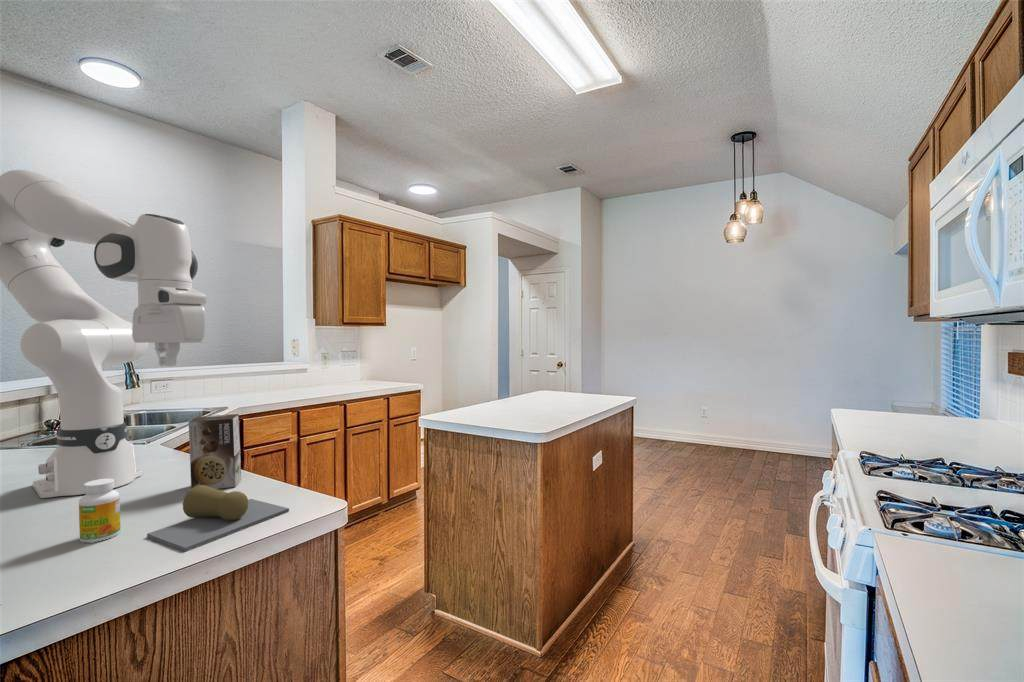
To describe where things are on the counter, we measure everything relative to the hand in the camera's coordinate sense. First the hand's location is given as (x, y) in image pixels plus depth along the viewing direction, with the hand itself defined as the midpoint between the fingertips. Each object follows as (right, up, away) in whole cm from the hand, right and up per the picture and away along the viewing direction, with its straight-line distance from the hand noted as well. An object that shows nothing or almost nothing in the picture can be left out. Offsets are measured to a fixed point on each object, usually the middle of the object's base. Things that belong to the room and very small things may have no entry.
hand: (167, 365), depth 94 cm
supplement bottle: (-3, -30, -12) cm, 32 cm away
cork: (+8, -26, -3) cm, 28 cm away
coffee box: (0, -29, +15) cm, 33 cm away
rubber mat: (+15, -29, -7) cm, 33 cm away
